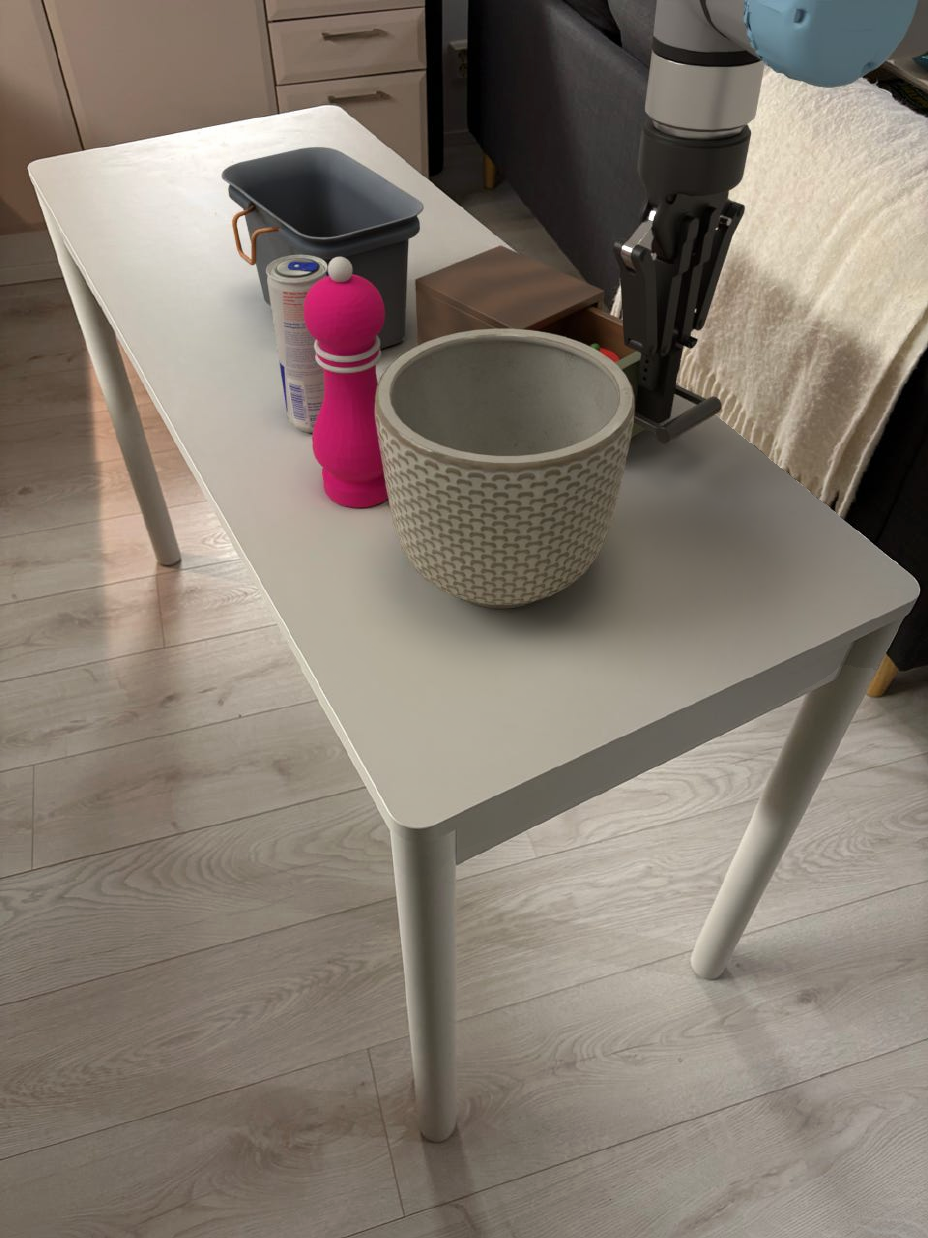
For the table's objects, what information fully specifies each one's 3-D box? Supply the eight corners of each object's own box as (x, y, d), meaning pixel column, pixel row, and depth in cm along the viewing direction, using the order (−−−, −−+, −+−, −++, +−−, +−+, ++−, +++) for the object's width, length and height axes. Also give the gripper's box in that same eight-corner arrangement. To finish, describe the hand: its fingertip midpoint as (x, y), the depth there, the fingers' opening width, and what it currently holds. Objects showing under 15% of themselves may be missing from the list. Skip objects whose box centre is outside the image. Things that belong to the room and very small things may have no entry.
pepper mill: (303, 500, 82) (268, 270, 68) (342, 454, 87) (318, 230, 73) (380, 520, 80) (362, 287, 66) (416, 472, 85) (406, 245, 71)
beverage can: (348, 408, 92) (333, 252, 82) (338, 438, 88) (320, 279, 78) (295, 405, 92) (273, 250, 82) (283, 435, 89) (258, 277, 78)
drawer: (723, 444, 86) (740, 365, 80) (650, 490, 81) (663, 409, 76) (567, 365, 96) (573, 290, 90) (495, 402, 91) (496, 325, 86)
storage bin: (441, 346, 100) (438, 205, 91) (309, 391, 94) (290, 246, 84) (339, 272, 113) (327, 141, 103) (216, 308, 107) (190, 172, 97)
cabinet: (595, 384, 95) (604, 290, 88) (514, 427, 90) (518, 330, 83) (498, 334, 102) (500, 244, 95) (418, 371, 97) (414, 279, 90)
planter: (573, 491, 82) (589, 314, 71) (644, 631, 70) (676, 444, 59) (372, 519, 80) (355, 341, 69) (410, 670, 68) (397, 482, 57)
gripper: (711, 88, 72) (666, 371, 89) (593, 128, 66) (568, 425, 82) (798, 112, 68) (734, 404, 85) (681, 157, 62) (636, 463, 79)
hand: (652, 414), depth 84 cm, fingers closed
